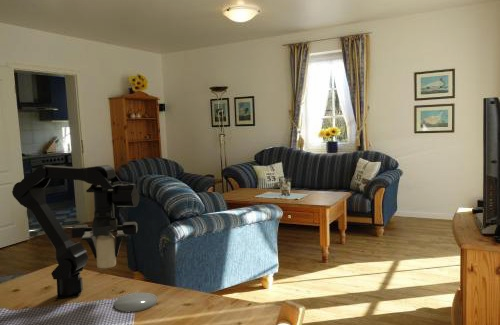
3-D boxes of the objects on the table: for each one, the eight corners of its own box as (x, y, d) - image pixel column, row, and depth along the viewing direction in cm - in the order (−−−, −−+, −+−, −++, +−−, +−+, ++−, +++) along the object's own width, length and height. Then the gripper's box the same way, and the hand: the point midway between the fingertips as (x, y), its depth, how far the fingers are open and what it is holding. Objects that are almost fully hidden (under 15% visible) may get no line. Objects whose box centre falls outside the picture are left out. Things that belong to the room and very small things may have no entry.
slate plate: (111, 313, 111) (111, 311, 111) (117, 297, 123) (117, 294, 123) (156, 309, 113) (156, 306, 113) (157, 293, 125) (157, 291, 125)
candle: (110, 269, 120) (108, 235, 120) (93, 268, 121) (91, 235, 121) (119, 263, 126) (118, 231, 125) (103, 262, 127) (102, 231, 126)
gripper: (64, 213, 113) (67, 268, 114) (133, 209, 116) (135, 262, 117) (73, 206, 124) (76, 256, 125) (136, 203, 127) (138, 252, 128)
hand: (106, 257), depth 123 cm, fingers closed on candle, 5 cm apart
